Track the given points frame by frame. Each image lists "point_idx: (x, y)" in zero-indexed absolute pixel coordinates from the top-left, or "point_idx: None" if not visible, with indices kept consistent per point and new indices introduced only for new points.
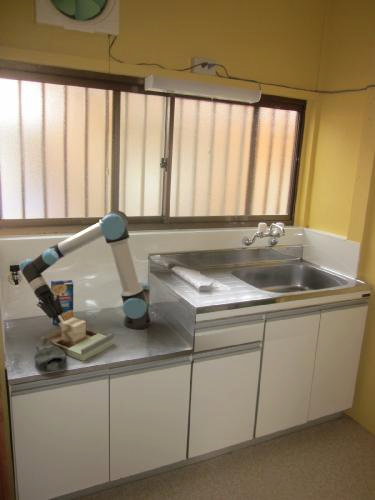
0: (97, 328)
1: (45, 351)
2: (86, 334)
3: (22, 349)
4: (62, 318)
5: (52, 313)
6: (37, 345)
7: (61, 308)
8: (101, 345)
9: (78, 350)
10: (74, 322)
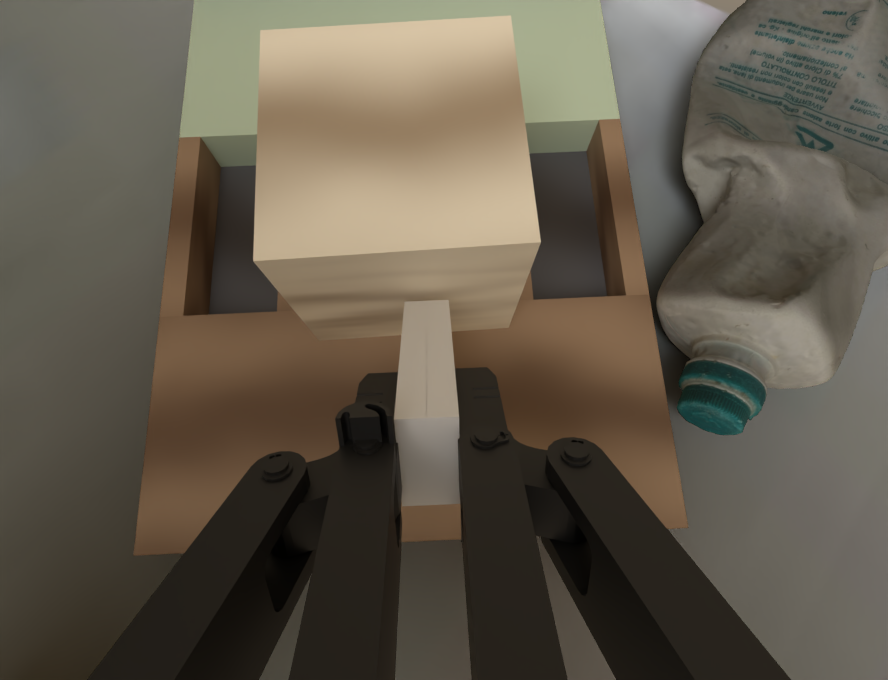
0: (10, 336)
1: (849, 172)
2: (211, 295)
3: (863, 551)
4: (402, 370)
5: (571, 485)
6: (851, 331)
7: (235, 529)
8: None
9: (568, 38)
10: (397, 109)
